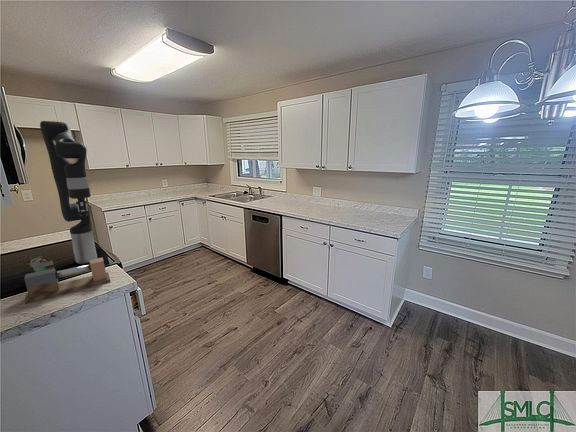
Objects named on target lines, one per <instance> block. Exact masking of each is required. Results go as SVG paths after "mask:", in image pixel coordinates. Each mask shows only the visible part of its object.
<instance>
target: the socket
mask: <svg viewBox="0 0 576 432" xmlns="http://www.w3.org/2000/svg"><path fill="white" fill-rule="evenodd" d="M89 264H90V266H91V271H90V272H91V276H93V281H98V280H102V279H106V278H107V276H106V272H107V271H106V266H105V262H104V258H103V257H97V259H93V260H90V262H89Z"/></svg>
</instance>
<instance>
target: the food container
mask: <svg viewBox="0 0 576 432" xmlns="http://www.w3.org/2000/svg"><path fill="white" fill-rule="evenodd" d="M54 264H55V263H54V261H53V259H52V260H49V259H48V258H45V257H43V255H40V256H37V257H35V258H33V259H31V260H30V263H29V266H30V267H32V268H33V271H34V272H39V271H44V270H48V269H53V268H55V267H54V266H55V265H54Z"/></svg>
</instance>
